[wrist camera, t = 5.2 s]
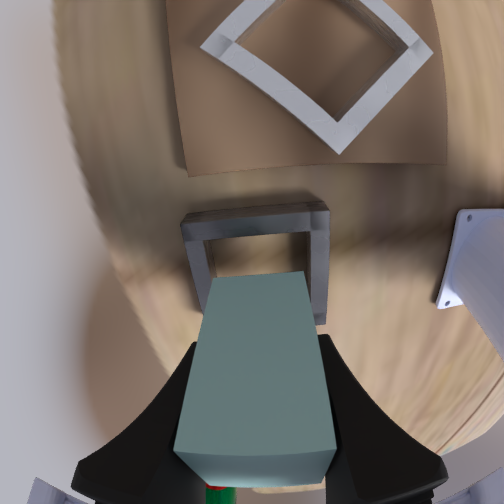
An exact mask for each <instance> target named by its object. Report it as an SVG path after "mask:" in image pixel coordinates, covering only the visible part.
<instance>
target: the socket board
mask: <svg viewBox="0 0 504 504" xmlns="http://www.w3.org/2000/svg"><path fill="white" fill-rule="evenodd" d="M165 1H166V14H167V26H168V36H169V46H170V56H171V64H172V73H173V81H174V89H175V96H176V103H177V110H178V117H179V124H180V131H181V137H182V143H183V149H184V155H185V161H186V167H187V173H188V177H194V176H201V175H208V174H216V173H224V172H232V171H241V170H251V169H261V168H273V167H286V166H300V165H318V164H345V163H410V164H435V165H446V161H447V98H446V84H445V73H444V64H443V57H442V50H441V44H440V38H439V33H438V27H437V23H436V18H435V14H434V10H433V6H432V2H431V0H165Z"/></svg>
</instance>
